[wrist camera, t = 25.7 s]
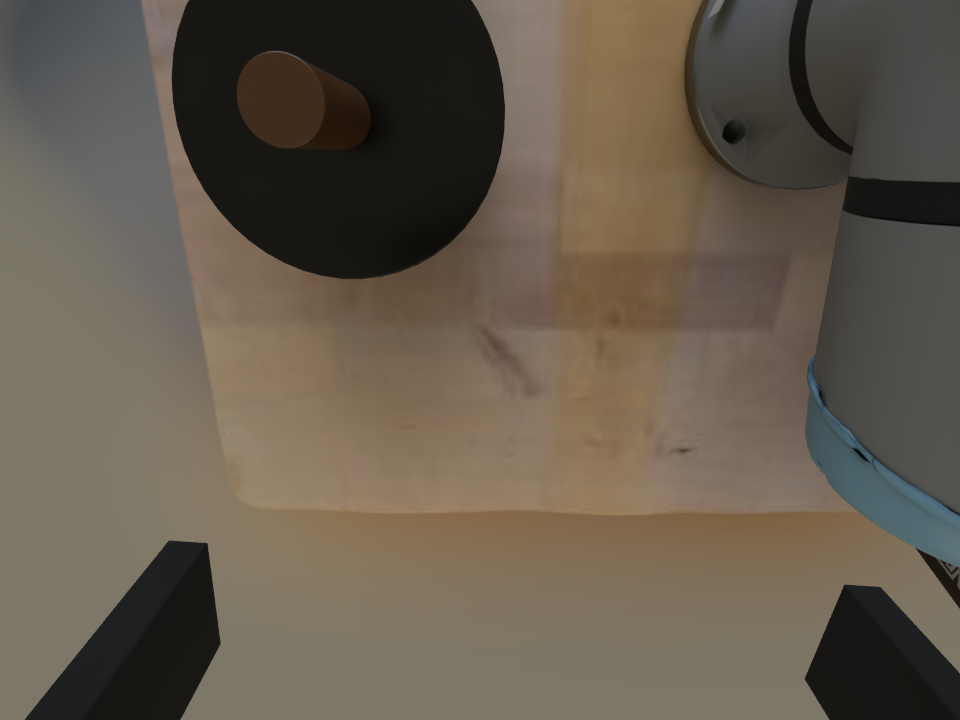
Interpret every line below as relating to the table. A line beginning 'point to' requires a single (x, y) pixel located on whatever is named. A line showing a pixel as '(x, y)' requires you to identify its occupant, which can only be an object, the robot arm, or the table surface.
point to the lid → (340, 125)
